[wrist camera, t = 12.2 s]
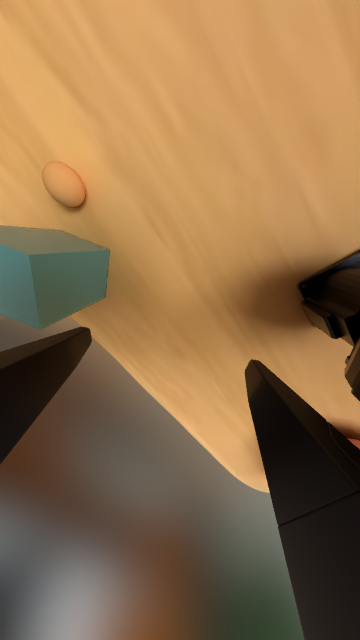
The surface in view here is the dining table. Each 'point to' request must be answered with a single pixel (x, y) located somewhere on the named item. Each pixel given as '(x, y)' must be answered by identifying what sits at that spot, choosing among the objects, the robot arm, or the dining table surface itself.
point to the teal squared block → (48, 274)
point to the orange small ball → (63, 183)
